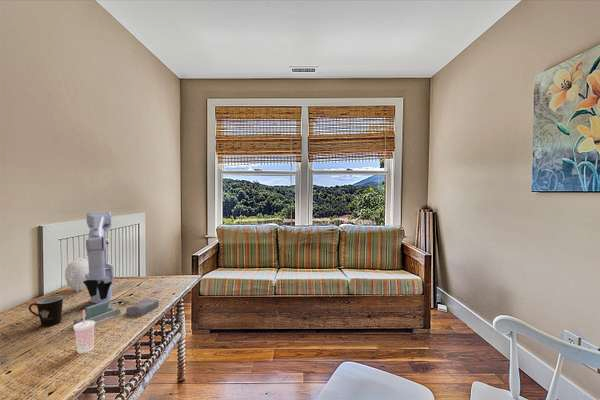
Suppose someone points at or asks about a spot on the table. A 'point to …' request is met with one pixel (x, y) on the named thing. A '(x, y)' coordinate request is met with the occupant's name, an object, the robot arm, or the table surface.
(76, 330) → the beverage cup
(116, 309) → the rectangular tray
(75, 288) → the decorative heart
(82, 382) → the table surface
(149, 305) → the stone block
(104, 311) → the door panel
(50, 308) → the coffee mug
